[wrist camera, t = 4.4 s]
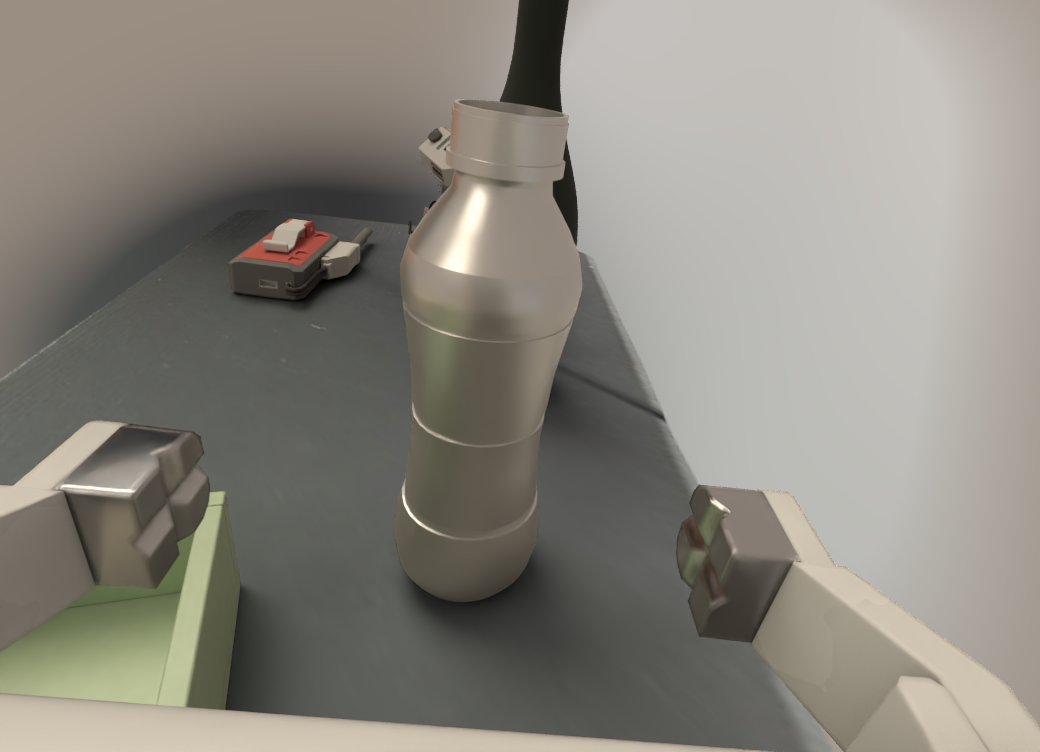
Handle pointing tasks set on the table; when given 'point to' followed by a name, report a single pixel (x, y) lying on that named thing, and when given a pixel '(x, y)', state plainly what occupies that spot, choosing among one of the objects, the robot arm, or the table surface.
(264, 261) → the walkie-talkie
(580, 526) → the table surface
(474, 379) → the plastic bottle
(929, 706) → the robot arm
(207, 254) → the table surface
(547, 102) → the wine bottle
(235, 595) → the bin
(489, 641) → the table surface
